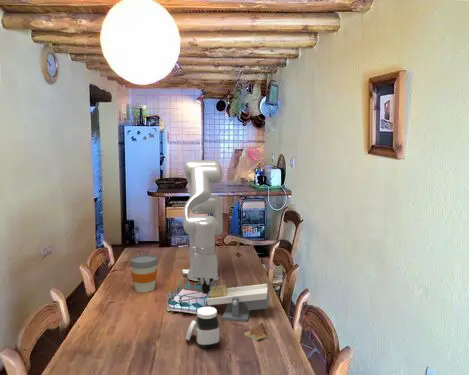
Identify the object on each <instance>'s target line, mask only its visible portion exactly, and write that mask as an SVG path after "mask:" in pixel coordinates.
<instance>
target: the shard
mask: <svg viewBox="0 0 469 375" xmlns="http://www.w3.org/2000/svg"><path fill="white" fill-rule="evenodd" d="M244 336H245V337H247V338H250V339H252V340H254V341H256V342H258V341H259V340H260V341H261V340H262V339H268V338H269V336H268V333H267V331H266V328H265V326H264V324H263V322H260V323H258V324H257V325H255V326H253V327H251V328H250V329H248V330H247V331H246V332H244Z"/></svg>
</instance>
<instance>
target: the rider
mask: <svg viewBox="0 0 469 375" xmlns="http://www.w3.org/2000/svg"><path fill="white" fill-rule="evenodd" d="M226 288H227V285H226V283H225V284H219V285H211V286H210V290H209V291H208V294H209V298H216V297H225V296H226V295H227V289H226Z"/></svg>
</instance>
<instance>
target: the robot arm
mask: <svg viewBox="0 0 469 375" xmlns="http://www.w3.org/2000/svg"><path fill="white" fill-rule="evenodd" d="M183 170H184V175H185V178H186V181H187V184H188V187H189V199H188V200H187V201H186V203H185V205H184V207H183V209H182V210H183V211H182V221H183V222H182V223H183V224H182V227H183V230H184V233H186V234H187V235H188V240H189V268H188V269H186V268H182V271H181V273H182V274H183V275H186V279H187V278H188V279H196V280H199V281H200V282H199V283H200V284H201V291H202V294H205V295H208V294H209V290H210V288H211V283H212V282H213V281H217V280H219V261H218V256H217V252H216V250H215V249H216V248H215V245H216V244H215V236H219V235H222V233H223V228H224V227H223V222H224V221H223V203H222V198H221V197H220V196H219V195H217V194H212V189H211V184H220V183H221V182H222V181H223V177H224V173H223V169H222V166H221V163H220V162H219V161H218V160H217V159H213V160H212V159H199V160H198V159H195V160H193V159H191V160H188V161H186V162H185V163H184V164H183ZM190 212H191V213H192V214H193V215H194V216H193V215H190ZM188 279H187V280H188Z"/></svg>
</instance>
